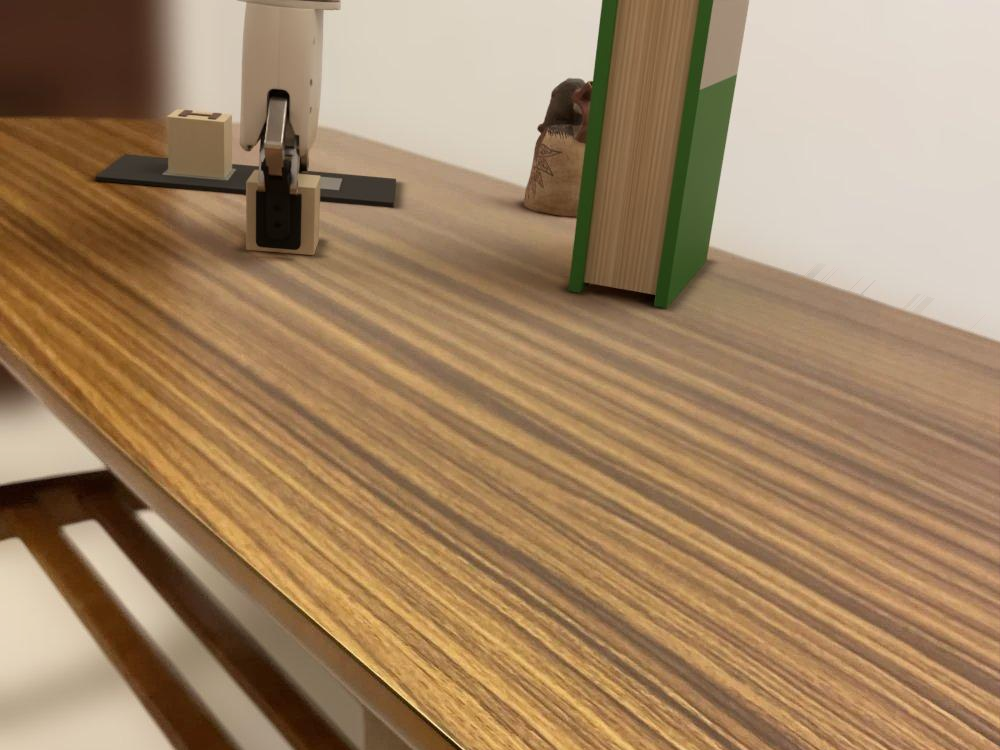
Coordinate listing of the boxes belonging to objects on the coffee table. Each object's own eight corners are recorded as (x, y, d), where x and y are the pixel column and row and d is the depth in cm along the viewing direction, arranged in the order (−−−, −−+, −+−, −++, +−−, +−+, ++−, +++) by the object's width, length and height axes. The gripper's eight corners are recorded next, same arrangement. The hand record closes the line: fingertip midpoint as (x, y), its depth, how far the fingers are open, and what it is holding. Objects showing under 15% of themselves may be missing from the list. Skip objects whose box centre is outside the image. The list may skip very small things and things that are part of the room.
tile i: (246, 250, 92) (246, 180, 90) (254, 235, 96) (254, 168, 94) (314, 255, 92) (315, 186, 90) (319, 240, 97) (320, 174, 95)
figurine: (572, 200, 123) (587, 73, 118) (612, 216, 118) (629, 84, 113) (511, 201, 119) (523, 70, 114) (550, 218, 114) (564, 81, 109)
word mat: (95, 180, 108) (95, 175, 108) (125, 158, 119) (125, 153, 119) (393, 207, 111) (393, 201, 111) (395, 182, 122) (396, 177, 122)
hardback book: (666, 308, 89) (722, -59, 79) (568, 290, 91) (610, -71, 80) (706, 261, 105) (757, -51, 94) (622, 246, 106) (663, -62, 96)
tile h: (168, 173, 112) (166, 115, 110) (178, 164, 116) (176, 107, 114) (224, 178, 112) (224, 120, 110) (232, 169, 117) (231, 113, 115)
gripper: (248, -28, 94) (248, 208, 101) (213, -20, 78) (216, 258, 86) (347, -17, 95) (340, 216, 102) (333, -7, 79) (325, 267, 87)
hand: (283, 233), depth 94 cm, fingers open, 7 cm apart
